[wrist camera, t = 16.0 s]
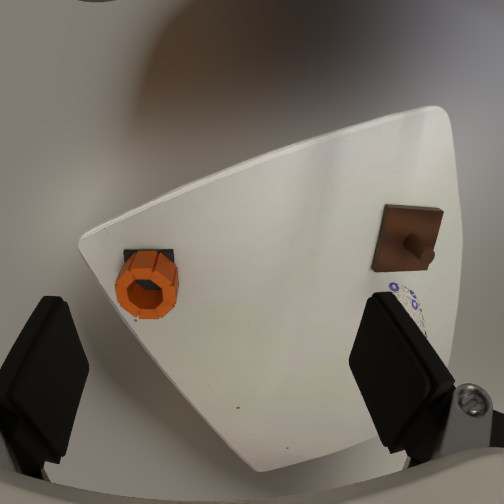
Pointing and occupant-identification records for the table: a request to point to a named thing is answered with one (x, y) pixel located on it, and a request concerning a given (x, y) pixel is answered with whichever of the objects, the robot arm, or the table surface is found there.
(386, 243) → the rack
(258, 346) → the table surface
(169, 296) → the orange octagonal tube
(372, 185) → the table surface
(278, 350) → the table surface
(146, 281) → the mat
